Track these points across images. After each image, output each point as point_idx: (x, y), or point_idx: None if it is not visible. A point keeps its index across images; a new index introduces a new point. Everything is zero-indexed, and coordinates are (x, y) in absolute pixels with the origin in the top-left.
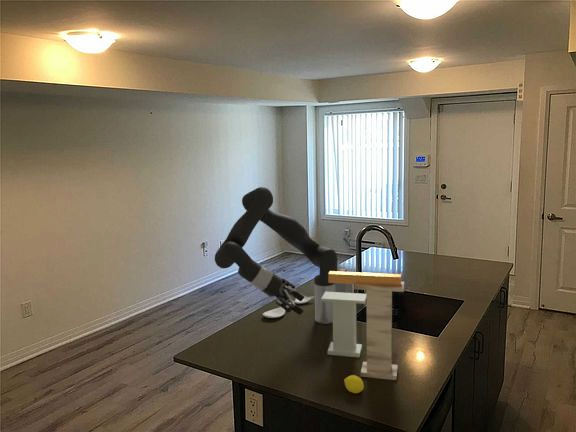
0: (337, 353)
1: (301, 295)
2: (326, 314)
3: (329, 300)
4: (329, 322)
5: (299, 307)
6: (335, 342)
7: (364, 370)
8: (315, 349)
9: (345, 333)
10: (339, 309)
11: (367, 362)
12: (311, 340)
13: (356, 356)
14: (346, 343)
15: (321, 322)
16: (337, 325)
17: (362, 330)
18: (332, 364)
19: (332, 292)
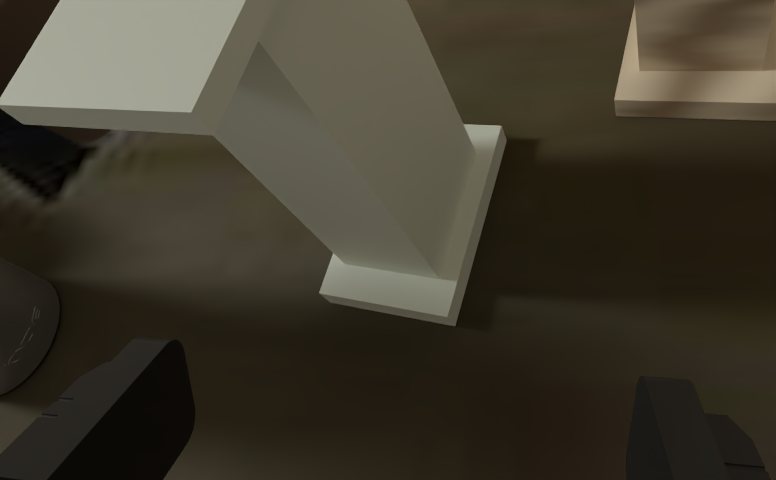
0: (468, 257)
1: (133, 374)
2: (6, 307)
3: (248, 33)
4: (55, 309)
5: (685, 451)
6: (426, 238)
7: (747, 84)
8: (371, 409)
9: (423, 130)
10: (321, 27)
11: (770, 20)
12: (237, 433)
13: (501, 153)
14: (448, 168)
15: (38, 357)
16: (381, 149)
17: (190, 142)
18: (606, 294)
19: (55, 29)
